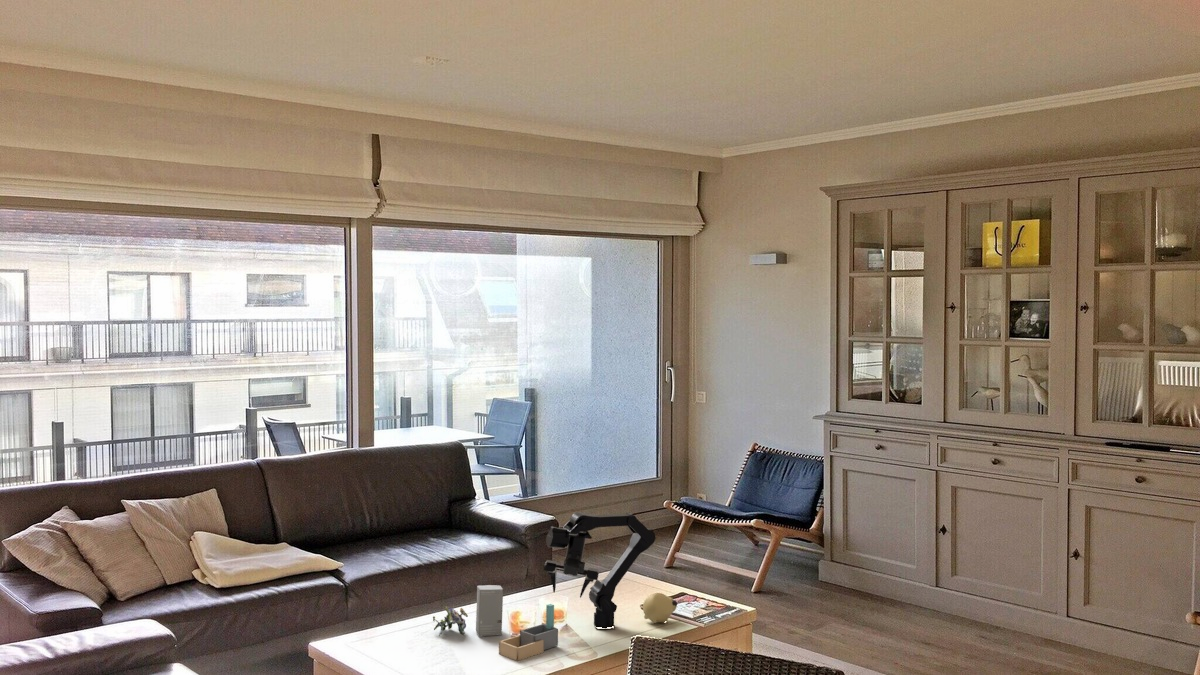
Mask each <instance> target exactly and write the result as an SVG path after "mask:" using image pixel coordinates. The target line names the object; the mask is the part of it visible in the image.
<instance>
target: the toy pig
mask: <svg viewBox="0 0 1200 675" xmlns="http://www.w3.org/2000/svg"><path fill="white" fill-rule="evenodd" d="M677 606H678V602H677V601H676V600H674V599H673V597H671V596H668V595H666V594H664V593H662V592H654V593H652V594H650V595H648V596H647V598H645V600H644V602H643V605H642V610H643V614H644V616H643V618H644V620H650V621H651V622H653V623H655V624H656V623H663V622H665V621H667V622H668V620H669V619H670V617H671V615H672V614H673V613H674V612H675V611H676V610H677Z"/></svg>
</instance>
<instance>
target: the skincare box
mask: <svg viewBox="0 0 1200 675" xmlns="http://www.w3.org/2000/svg"><path fill="white" fill-rule="evenodd" d="M503 599H504V588H503V587H502V586H501V584H500V585H499V584H498V585H497V584H496V585H492V584H487V585H477V586H476V610H475V611H476V612H475V613H476V614H475V616H476V617H475V618H476V619H475V632H476V633H477V635H478V638H479V637H481V638H482V637H491V636H501V635H502V632H503V631H502V630H503V628H502V627H503V605H504V603H503V601H504V600H503Z"/></svg>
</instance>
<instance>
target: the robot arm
mask: <svg viewBox="0 0 1200 675" xmlns="http://www.w3.org/2000/svg"><path fill="white" fill-rule="evenodd" d="M608 527H609V528H611V527H612V528H613V527H627V528H628V529H629V531H630V532H631V533H632V535H631V537H630V540H629V544H628V547H627V548H626V549H625V551H624V552H623V553H622V555H621V556H620V558H619V559H618V561H617V562H616V563H615V565H614V566H613V567H612V569H611V570H610V571H609V572H608V574H607V575H606V577H605V578H604V579H602V580H601V581H600V580H599V575H600V574H599V573H600V570H599V569H598V568H593V567H587V569H585V566H586V562H585V561H583V555H584V551H585V544H586V540H587V539H588V540H590V539H593V537H592V535H591V534H590V531H593V530H595V529H597V528H608ZM545 539H546V540H545V542H546V546H547V548H556V549H565V548H566V553H565V558H564V561H563V564H558V561H555V560H551V559H547V560H546V561H545V562H544V566H543V571H545V572H546V573H547V574H549V576H550V578H551V582H552V592H553V593H555V592H556V590H557V589H556V587H557V574H558V573H557V572H558V571H562V572H563V574H564V575H570V576H573V577H577V576H578V575H582V576H585V578H584V581H583V585H582V587H581V591H580V594H579V598H582V596H583V595H584V592H585V591H586V589H587V587H588V585H589V584H590V583H591V582H592V583H593V585H592V586H591V587H590V588H589V589H590V591H589V593H588V598H589V600H590V602H591V603H592V604H593V605H594V607H595V612H594V613H593V625H594V627H595V626H596V627H602V628H607V627H612V626H614V627H615V613H616V612H617V609H618V608H617V607H618V605H617V604H615V602H614V601H612V600H613V598H614V596H615V591H616V588H617V586H618V584H619V583H620V582H621V580H622V579H623V577H624V576H625V575H626V573H627V572H628V571H629V570H630V568H631V567H632V565H633V564H634V563H635V562H636V560H637V558H638V557H639V556H640V555H641V554H642V553H644V552H645V551H647V550H649V548H650V547H651V546H653V545H654V543H655V541H656V540H657V539H656V534H655V532H654V531H653V529H650V528H648V527H647V526H645V525H644V524H643V523H642V522H641V521H640V520H639V519H638V518H637V516H635V515H634V514H632V513H630V512H626V513H617V514H616V513H613V514H592V513H587V512H580V511H577V512H576V511H575V512H574V513H573V514H572V515H571V516H570V519H569V520H568V522H566V523H565V525H564V526H562V527H556V526H550V530H549V531H548V533H547V534H546V538H545ZM594 581H595V582H594ZM596 627H595V628H596Z"/></svg>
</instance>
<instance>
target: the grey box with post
mask: <svg viewBox="0 0 1200 675" xmlns="http://www.w3.org/2000/svg"><path fill="white" fill-rule="evenodd" d="M545 610H546V611H545V615H546V616H545V617H546V618H545V623H541V624H538V625H534V626H532V627H529V628H528V627H527V628H524V629H520V630H519V635H520V647H521V646H524V645H527V644H530V643H534V642H537V641H540V640H544V641H543V651H546V650H548V649H553V648H555V647H558V646H559V628H557V627H555V605H554V604H553V603H550V604H546V608H545Z"/></svg>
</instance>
